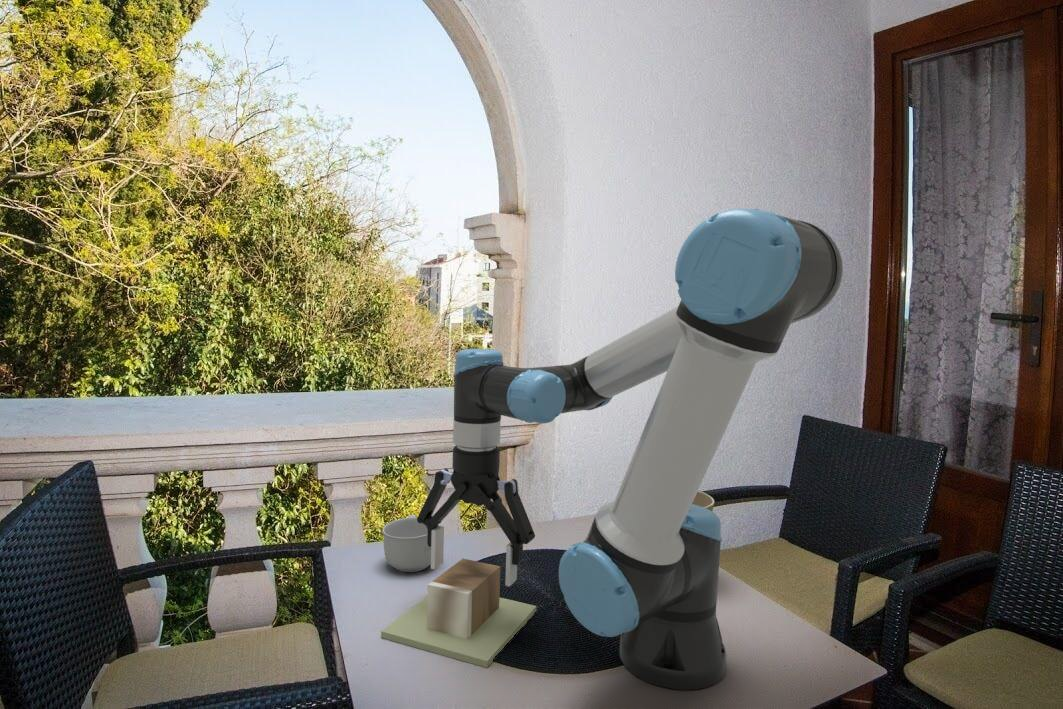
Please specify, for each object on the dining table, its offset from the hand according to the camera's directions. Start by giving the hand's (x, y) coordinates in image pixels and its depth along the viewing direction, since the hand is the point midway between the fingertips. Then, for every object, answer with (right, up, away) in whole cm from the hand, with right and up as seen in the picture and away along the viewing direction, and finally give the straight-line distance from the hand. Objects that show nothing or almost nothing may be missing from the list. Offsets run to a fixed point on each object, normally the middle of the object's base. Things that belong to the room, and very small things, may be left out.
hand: (473, 574), depth 104 cm
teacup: (-14, -5, +21) cm, 25 cm away
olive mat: (-1, -7, -2) cm, 8 cm away
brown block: (+1, -2, +3) cm, 4 cm away
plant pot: (+36, -7, +17) cm, 40 cm away
